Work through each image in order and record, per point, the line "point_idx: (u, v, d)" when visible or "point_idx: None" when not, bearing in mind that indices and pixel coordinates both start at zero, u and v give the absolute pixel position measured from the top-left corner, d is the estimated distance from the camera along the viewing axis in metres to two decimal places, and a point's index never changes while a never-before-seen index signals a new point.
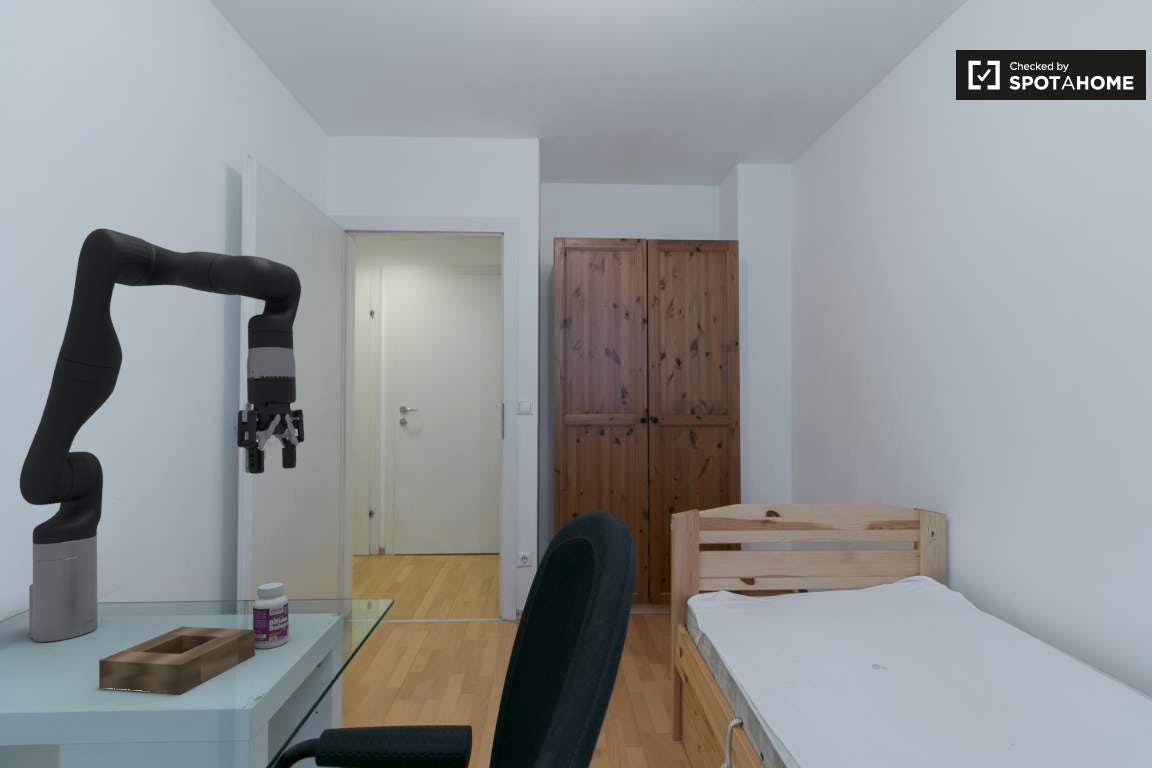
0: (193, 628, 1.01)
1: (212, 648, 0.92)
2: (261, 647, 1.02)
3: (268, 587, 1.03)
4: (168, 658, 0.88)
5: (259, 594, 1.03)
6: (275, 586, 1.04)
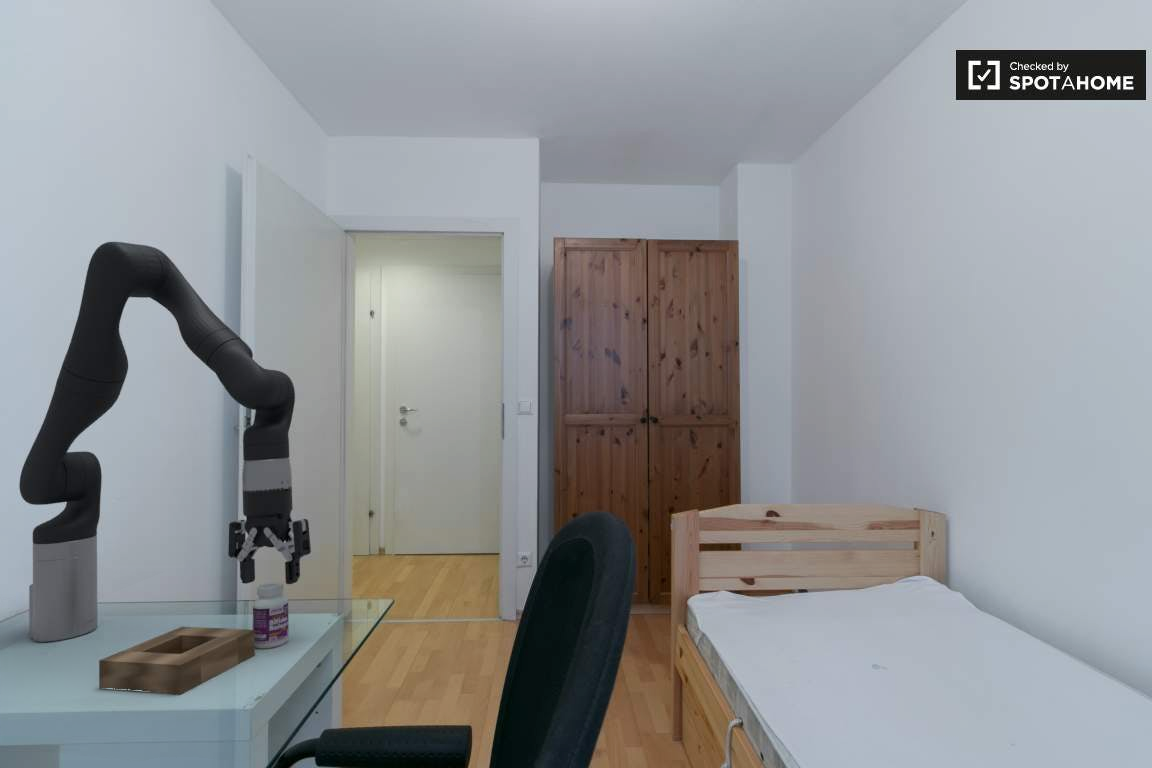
0: (193, 628, 1.01)
1: (212, 648, 0.92)
2: (261, 647, 1.02)
3: (268, 587, 1.03)
4: (168, 658, 0.88)
5: (259, 594, 1.03)
6: (275, 586, 1.04)
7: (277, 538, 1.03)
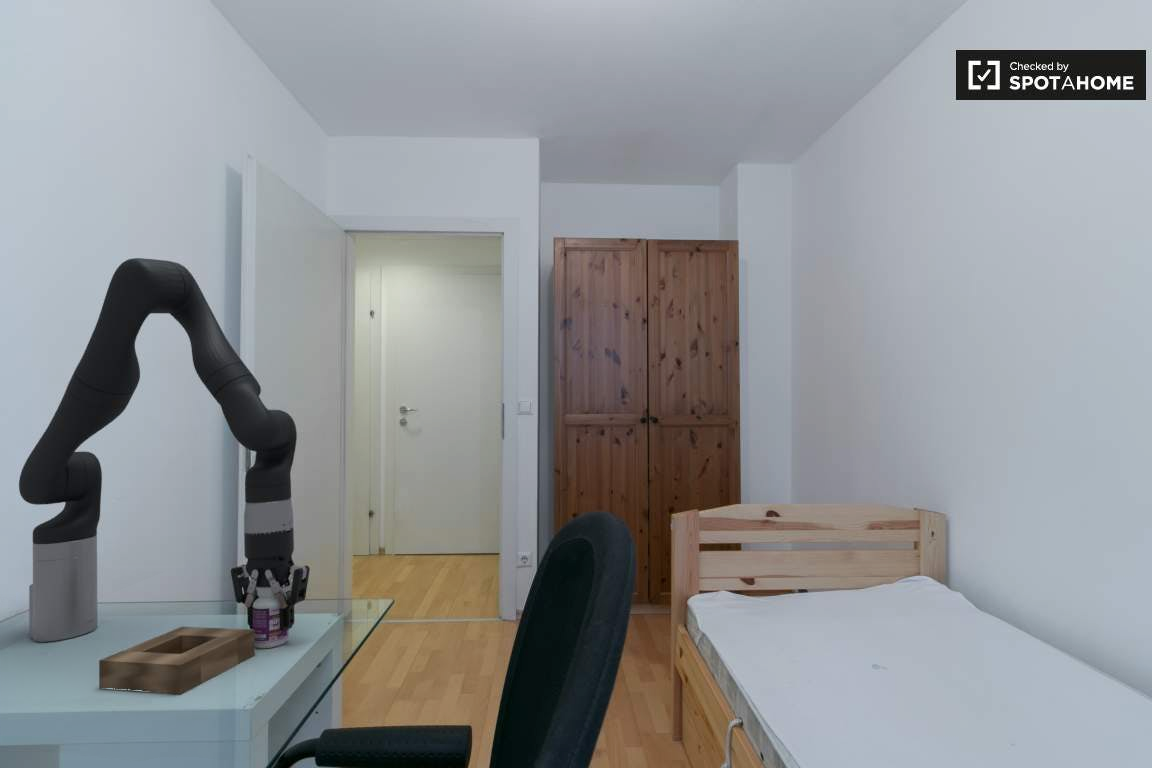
0: (193, 628, 1.01)
1: (212, 648, 0.92)
2: (261, 647, 1.02)
3: (268, 587, 1.03)
4: (168, 658, 0.88)
5: (259, 594, 1.03)
6: None
7: (277, 583, 1.03)
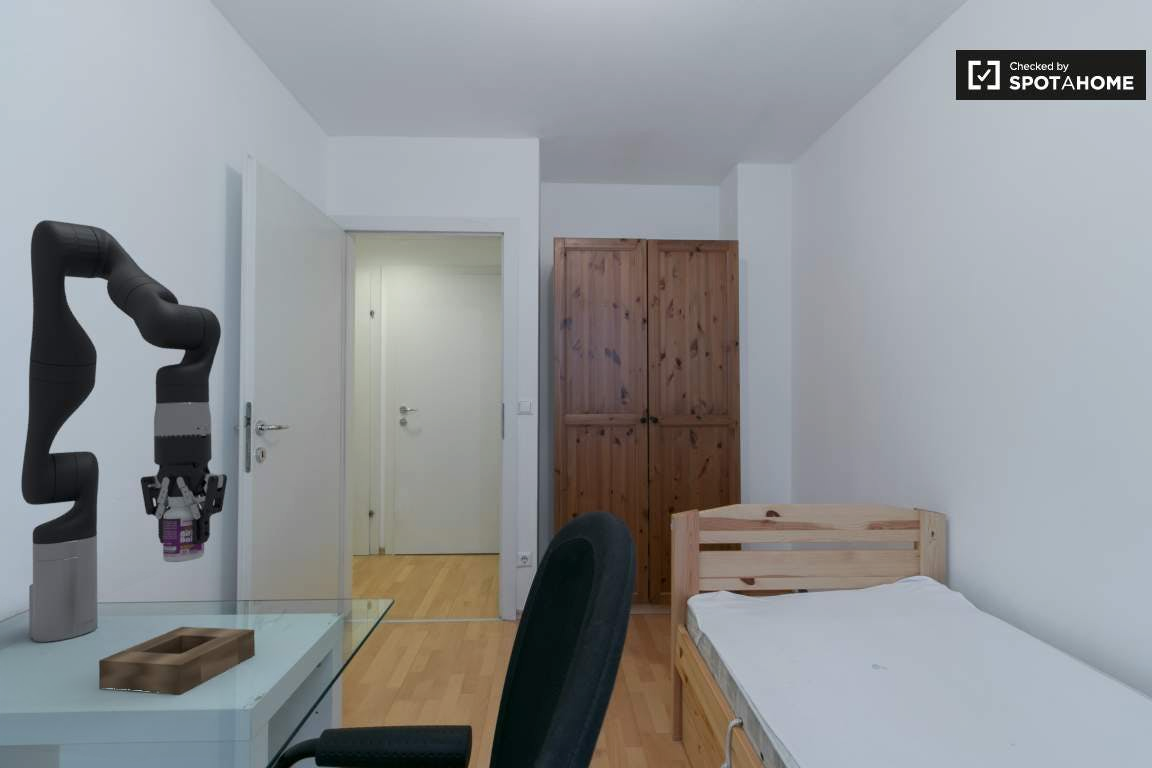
0: (193, 628, 1.01)
1: (212, 648, 0.92)
2: (171, 560, 0.93)
3: None
4: (168, 658, 0.88)
5: (170, 504, 0.94)
6: None
7: (189, 492, 0.94)
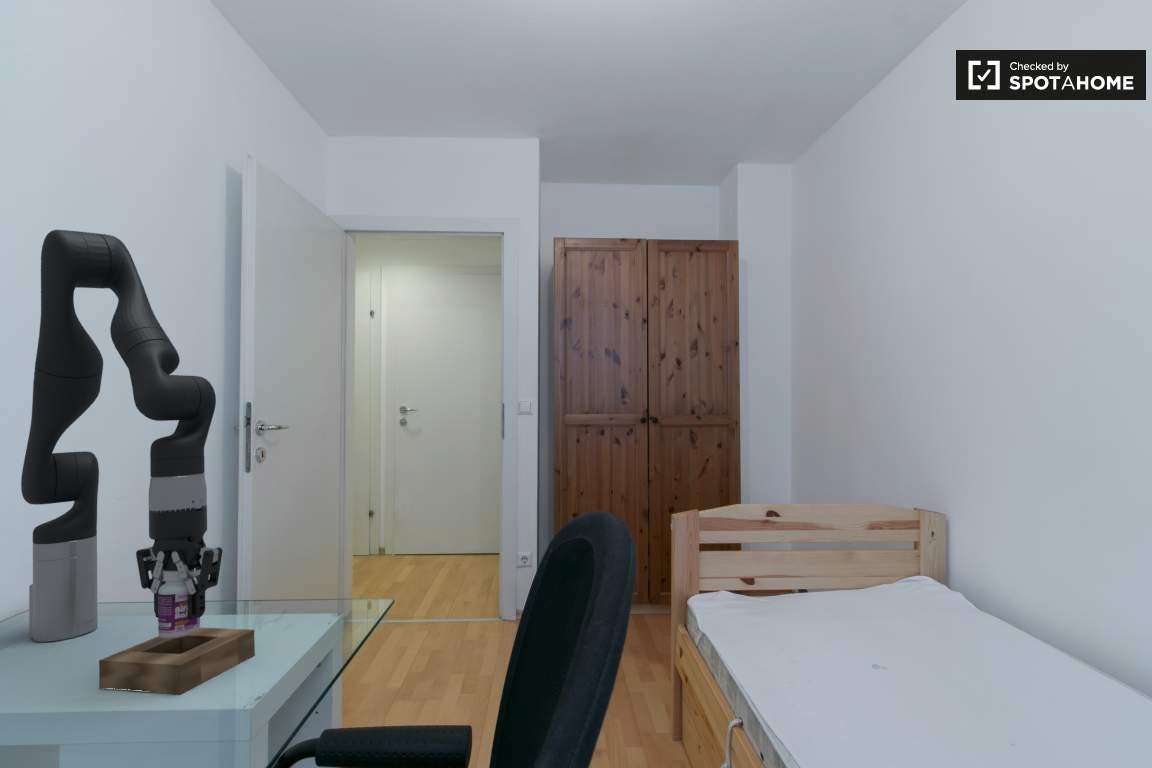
0: None
1: (212, 648, 0.92)
2: (166, 637, 0.92)
3: (175, 571, 0.93)
4: (168, 658, 0.88)
5: (165, 578, 0.93)
6: None
7: (184, 566, 0.92)
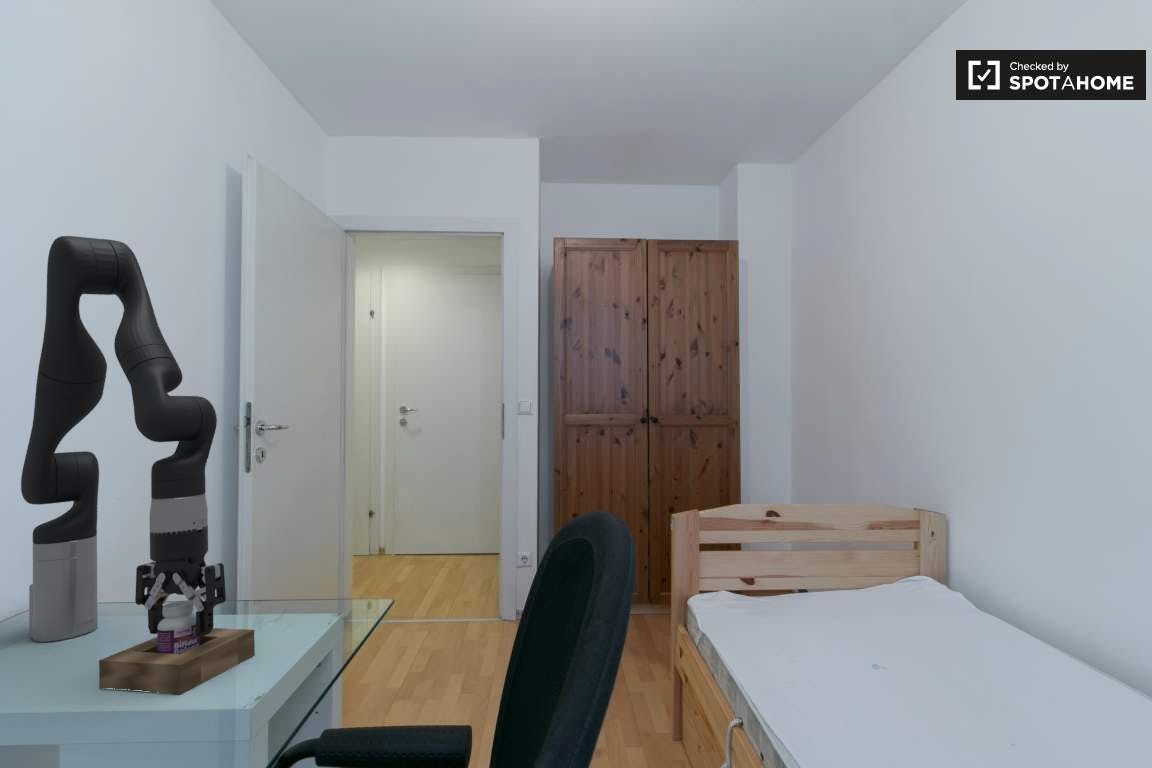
0: None
1: (212, 648, 0.92)
2: None
3: (174, 606, 0.93)
4: (168, 658, 0.88)
5: (164, 614, 0.93)
6: (182, 605, 0.94)
7: (187, 585, 0.92)
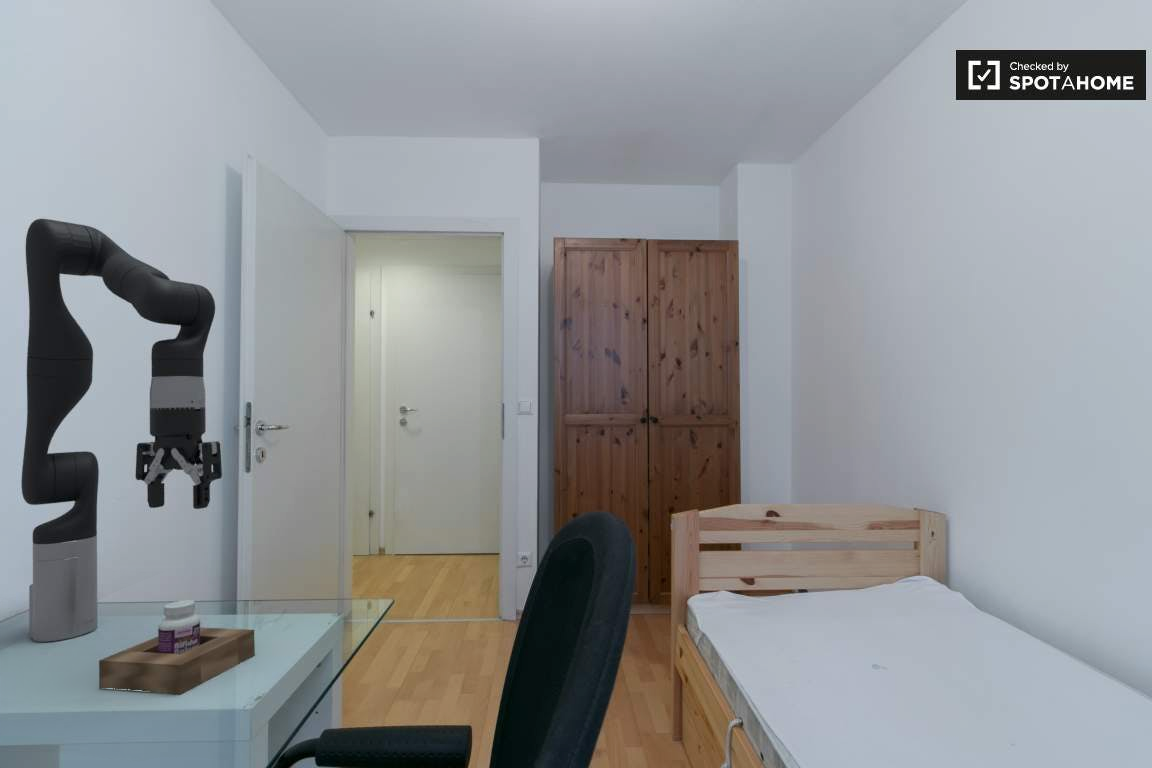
0: None
1: (212, 648, 0.92)
2: None
3: (175, 606, 0.93)
4: (168, 658, 0.88)
5: (165, 613, 0.93)
6: (184, 605, 0.94)
7: (185, 460, 0.97)
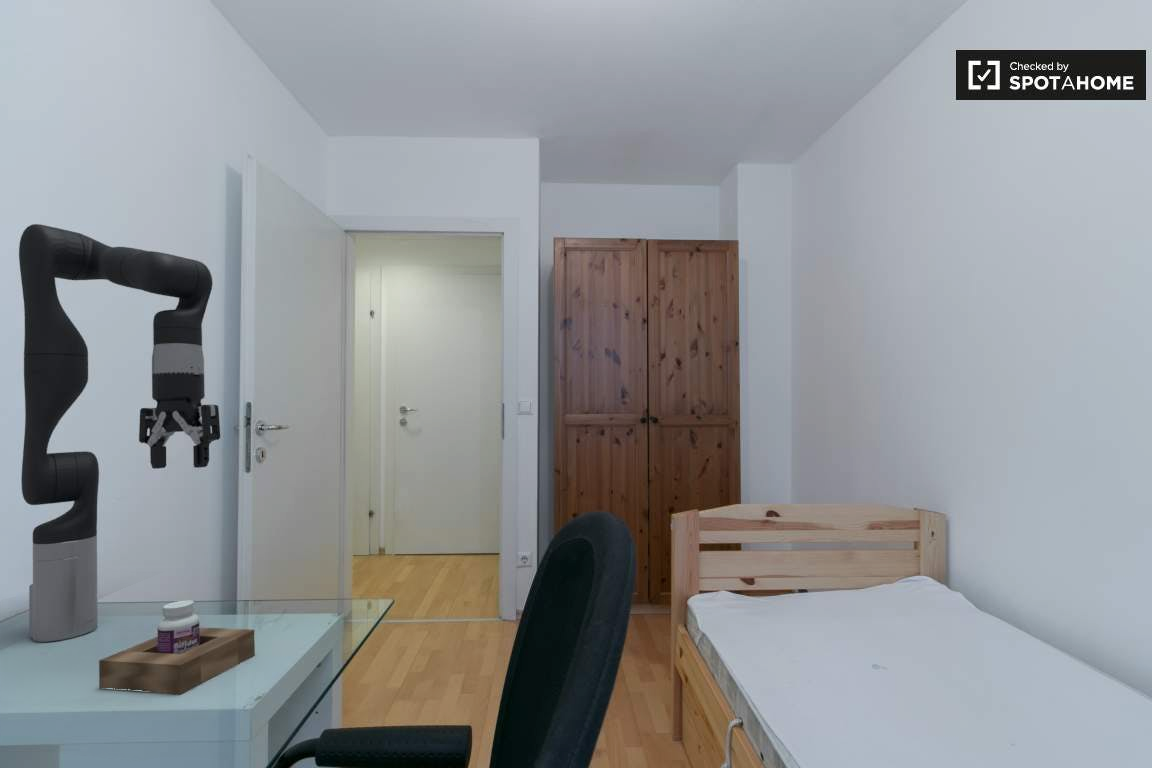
0: None
1: (212, 648, 0.92)
2: None
3: (174, 606, 0.93)
4: (168, 658, 0.88)
5: (164, 614, 0.93)
6: (182, 605, 0.94)
7: (186, 422, 1.03)
